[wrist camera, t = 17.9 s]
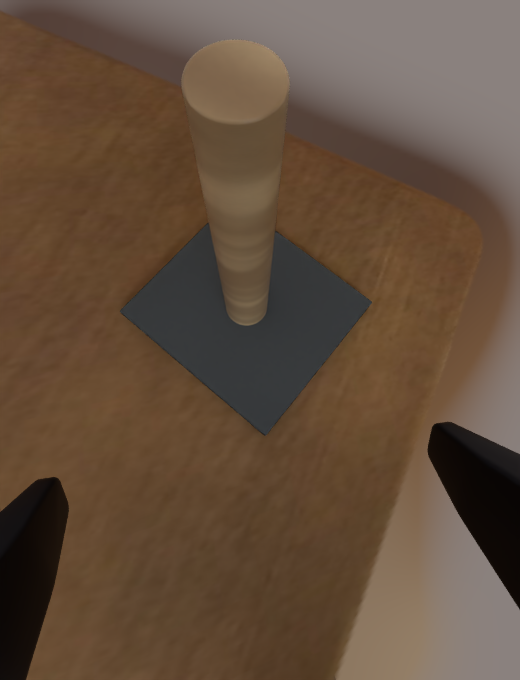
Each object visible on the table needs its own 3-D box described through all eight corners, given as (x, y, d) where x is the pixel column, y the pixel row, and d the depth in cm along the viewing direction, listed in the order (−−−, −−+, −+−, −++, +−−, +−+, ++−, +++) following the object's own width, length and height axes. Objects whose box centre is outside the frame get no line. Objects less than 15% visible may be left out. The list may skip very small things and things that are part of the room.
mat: (369, 305, 22) (372, 301, 22) (265, 436, 20) (265, 436, 20) (232, 204, 24) (232, 198, 23) (122, 314, 22) (119, 310, 21)
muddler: (259, 331, 21) (270, 135, 8) (220, 318, 21) (163, 103, 8) (272, 294, 22) (304, 53, 8) (234, 282, 22) (204, 26, 8)
